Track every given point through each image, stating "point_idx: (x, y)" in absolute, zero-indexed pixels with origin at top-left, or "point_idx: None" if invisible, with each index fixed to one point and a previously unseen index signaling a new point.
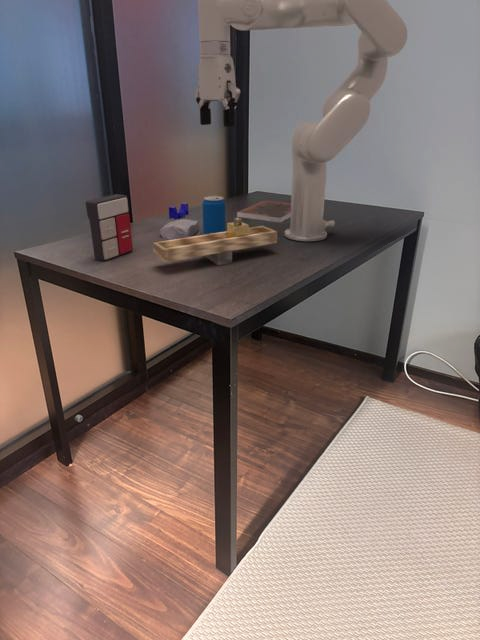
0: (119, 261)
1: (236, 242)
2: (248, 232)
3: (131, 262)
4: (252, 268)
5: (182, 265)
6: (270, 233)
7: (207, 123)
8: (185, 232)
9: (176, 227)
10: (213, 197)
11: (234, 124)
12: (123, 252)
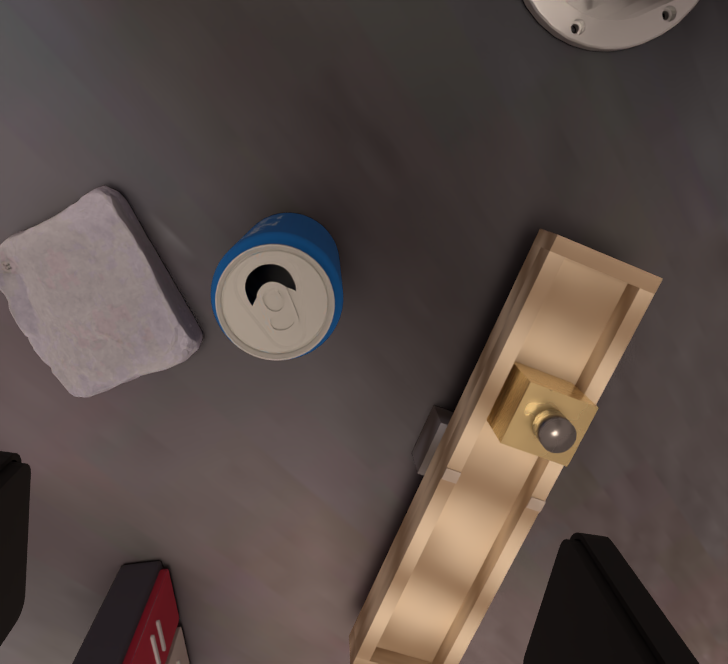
0: (224, 643)
1: None
2: (583, 395)
3: (262, 627)
4: (619, 441)
5: None
6: (643, 311)
7: (24, 530)
8: (191, 353)
9: (145, 374)
10: (243, 270)
11: (609, 540)
12: (176, 608)
